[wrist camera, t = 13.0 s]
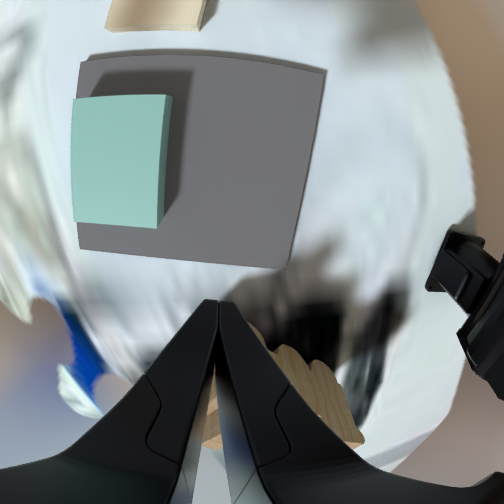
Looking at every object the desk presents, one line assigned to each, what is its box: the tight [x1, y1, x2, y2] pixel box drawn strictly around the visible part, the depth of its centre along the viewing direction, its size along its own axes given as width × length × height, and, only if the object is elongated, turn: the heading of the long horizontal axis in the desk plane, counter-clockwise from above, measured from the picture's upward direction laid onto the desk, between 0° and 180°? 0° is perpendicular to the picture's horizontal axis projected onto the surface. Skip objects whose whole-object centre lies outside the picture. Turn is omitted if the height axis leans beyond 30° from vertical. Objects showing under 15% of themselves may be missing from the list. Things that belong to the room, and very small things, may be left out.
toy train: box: [202, 322, 365, 450], centre depth 22 cm, size 6×17×10 cm, turn 50°
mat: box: [76, 55, 324, 270], centre depth 17 cm, size 16×14×1 cm
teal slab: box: [71, 95, 173, 229], centre depth 15 cm, size 2×8×6 cm
